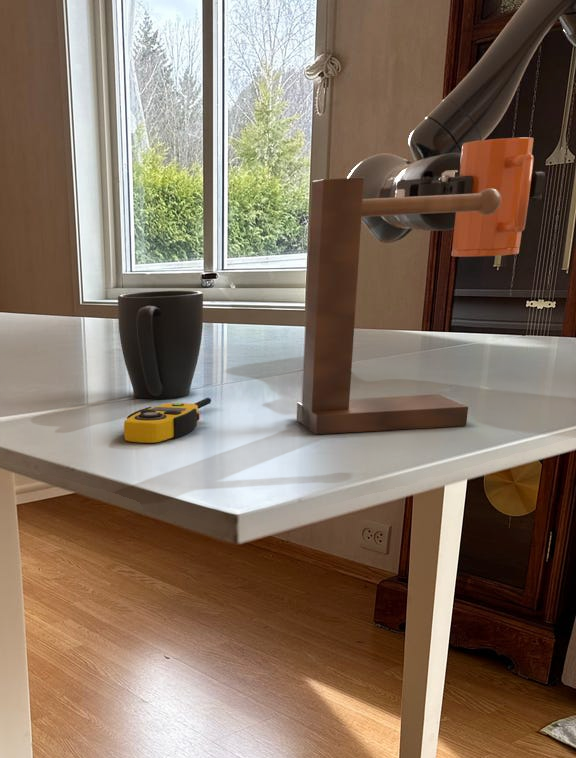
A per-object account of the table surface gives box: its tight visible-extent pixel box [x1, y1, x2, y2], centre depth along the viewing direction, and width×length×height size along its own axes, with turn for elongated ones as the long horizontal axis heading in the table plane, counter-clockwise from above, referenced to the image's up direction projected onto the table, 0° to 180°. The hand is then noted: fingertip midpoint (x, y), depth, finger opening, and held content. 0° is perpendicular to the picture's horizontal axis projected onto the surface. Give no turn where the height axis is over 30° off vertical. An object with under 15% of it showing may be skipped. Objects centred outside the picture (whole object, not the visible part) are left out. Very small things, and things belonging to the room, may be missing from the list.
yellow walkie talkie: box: [123, 397, 212, 444], centre depth 77 cm, size 5×2×15 cm
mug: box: [117, 290, 204, 400], centre depth 88 cm, size 8×12×10 cm
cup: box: [451, 137, 535, 258], centre depth 87 cm, size 10×6×10 cm, turn 3°
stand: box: [296, 177, 501, 435], centre depth 71 cm, size 14×6×18 cm, turn 93°
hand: (503, 186), depth 86 cm, fingers closed on cup, 6 cm apart
